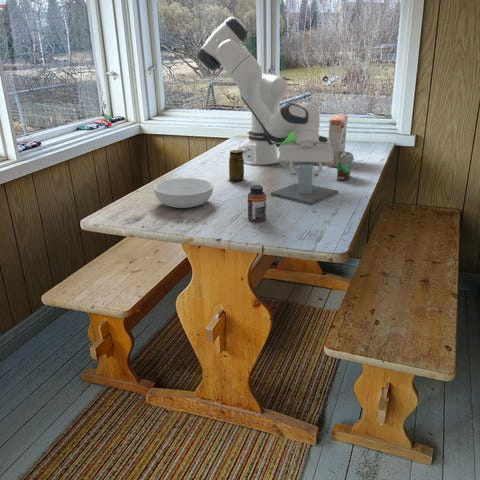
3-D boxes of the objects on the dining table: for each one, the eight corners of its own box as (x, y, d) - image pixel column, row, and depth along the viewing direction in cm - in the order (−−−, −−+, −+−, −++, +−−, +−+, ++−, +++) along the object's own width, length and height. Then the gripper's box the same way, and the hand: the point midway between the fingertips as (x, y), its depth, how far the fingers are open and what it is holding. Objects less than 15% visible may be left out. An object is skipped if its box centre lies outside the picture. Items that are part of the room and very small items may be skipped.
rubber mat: (270, 194, 190) (270, 192, 190) (299, 184, 202) (299, 181, 202) (310, 205, 179) (310, 202, 178) (338, 193, 191) (338, 190, 190)
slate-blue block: (298, 193, 188) (298, 166, 184) (298, 189, 193) (299, 163, 189) (311, 193, 188) (312, 167, 184) (311, 189, 192) (312, 163, 188)
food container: (352, 182, 203) (354, 158, 199) (336, 182, 204) (338, 157, 200) (352, 174, 214) (354, 151, 210) (337, 173, 215) (339, 150, 211)
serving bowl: (190, 218, 169) (189, 198, 166) (143, 207, 179) (141, 189, 176) (224, 200, 185) (224, 182, 182) (179, 192, 195) (178, 174, 192)
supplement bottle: (246, 216, 169) (246, 183, 164) (264, 215, 169) (264, 183, 165) (248, 223, 163) (248, 189, 159) (267, 222, 164) (267, 188, 159)
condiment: (241, 176, 213) (241, 148, 209) (249, 182, 206) (248, 153, 201) (225, 178, 211) (224, 150, 206) (232, 184, 204) (231, 154, 199)
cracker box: (339, 167, 224) (342, 119, 216) (326, 166, 226) (328, 119, 218) (344, 160, 236) (348, 114, 228) (332, 159, 238) (334, 114, 230)
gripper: (279, 137, 190) (276, 169, 185) (334, 138, 188) (333, 171, 183) (279, 146, 196) (277, 178, 191) (333, 147, 193) (332, 179, 188)
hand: (305, 174), depth 187 cm, fingers open, 7 cm apart
